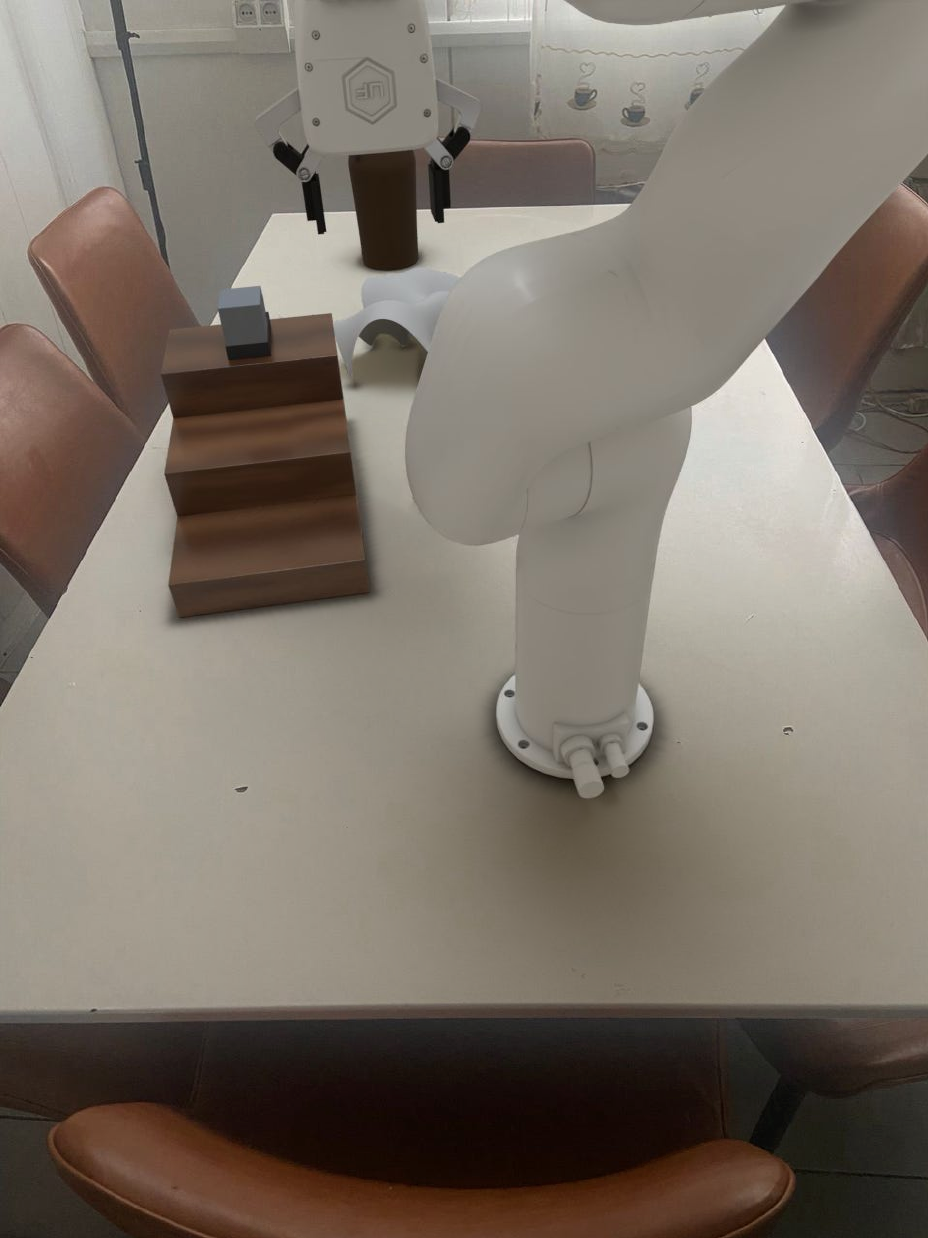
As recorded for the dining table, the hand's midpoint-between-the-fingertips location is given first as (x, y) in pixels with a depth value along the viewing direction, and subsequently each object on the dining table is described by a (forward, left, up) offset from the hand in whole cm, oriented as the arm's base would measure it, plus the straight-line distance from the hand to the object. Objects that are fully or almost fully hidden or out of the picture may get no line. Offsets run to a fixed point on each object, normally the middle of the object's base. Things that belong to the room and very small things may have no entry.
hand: (379, 223), depth 73 cm
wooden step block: (+6, +14, -30) cm, 34 cm away
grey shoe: (+17, +14, -16) cm, 27 cm away
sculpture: (+42, -6, -31) cm, 52 cm away
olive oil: (+76, -6, -31) cm, 82 cm away
